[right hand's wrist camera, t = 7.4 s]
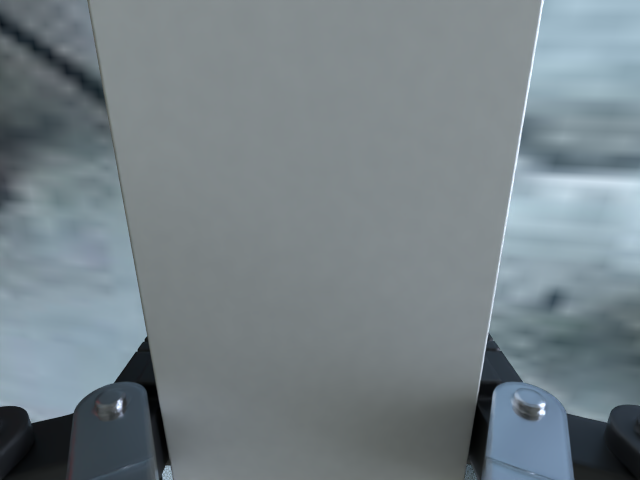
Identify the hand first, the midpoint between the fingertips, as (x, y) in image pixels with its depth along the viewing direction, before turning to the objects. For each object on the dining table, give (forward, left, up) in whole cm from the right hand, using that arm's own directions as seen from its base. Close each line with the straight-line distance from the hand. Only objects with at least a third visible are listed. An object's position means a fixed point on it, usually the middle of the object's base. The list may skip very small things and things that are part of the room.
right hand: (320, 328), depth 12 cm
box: (+9, 0, -9) cm, 12 cm away
